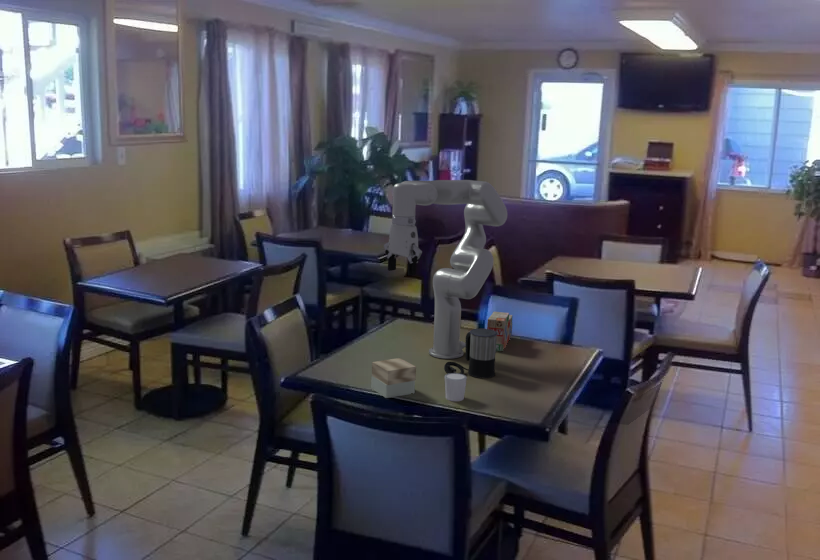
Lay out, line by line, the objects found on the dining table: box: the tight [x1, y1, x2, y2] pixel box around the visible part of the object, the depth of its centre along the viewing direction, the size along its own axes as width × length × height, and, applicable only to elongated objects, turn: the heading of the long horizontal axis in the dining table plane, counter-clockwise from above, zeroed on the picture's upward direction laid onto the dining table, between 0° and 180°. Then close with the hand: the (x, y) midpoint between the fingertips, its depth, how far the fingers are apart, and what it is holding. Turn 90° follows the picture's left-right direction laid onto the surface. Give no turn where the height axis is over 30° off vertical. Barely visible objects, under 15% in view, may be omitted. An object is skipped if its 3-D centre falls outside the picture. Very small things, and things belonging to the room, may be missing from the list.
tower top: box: [371, 357, 417, 385], centre depth 247 cm, size 10×10×4 cm
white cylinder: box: [444, 372, 468, 402], centre depth 243 cm, size 7×7×7 cm
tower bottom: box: [370, 375, 416, 399], centre depth 248 cm, size 10×10×4 cm
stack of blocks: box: [486, 311, 513, 352], centre depth 302 cm, size 21×6×12 cm, turn 164°
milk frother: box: [443, 328, 498, 379], centre depth 265 cm, size 14×16×15 cm
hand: (401, 272), depth 263 cm, fingers open, 9 cm apart
